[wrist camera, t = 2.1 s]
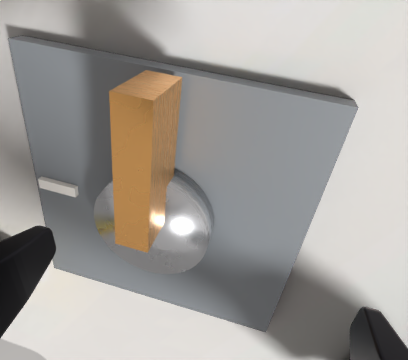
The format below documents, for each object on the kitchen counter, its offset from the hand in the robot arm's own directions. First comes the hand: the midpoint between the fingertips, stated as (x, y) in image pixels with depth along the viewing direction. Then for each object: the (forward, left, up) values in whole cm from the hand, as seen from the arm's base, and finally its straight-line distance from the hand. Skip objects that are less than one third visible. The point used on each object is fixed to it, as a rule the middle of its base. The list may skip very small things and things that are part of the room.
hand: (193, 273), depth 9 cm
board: (+5, +8, -12) cm, 15 cm away
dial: (+5, +5, -11) cm, 13 cm away
